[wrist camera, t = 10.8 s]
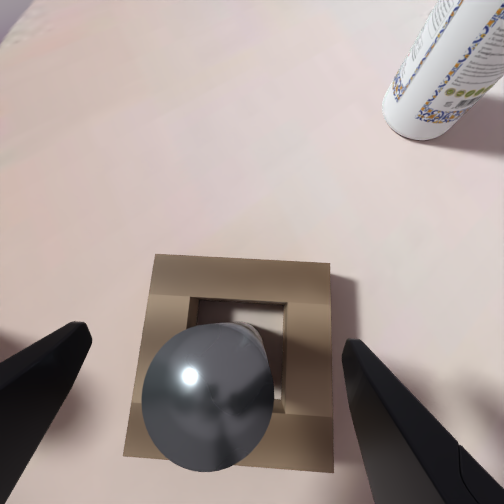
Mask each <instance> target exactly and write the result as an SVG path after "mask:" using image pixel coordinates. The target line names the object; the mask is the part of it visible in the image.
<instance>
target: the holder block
mask: <svg viewBox="0 0 504 504" xmlns="http://www.w3.org/2000/svg"><path fill="white" fill-rule="evenodd" d="M199 300H212V301H229V302H245V303H262V304H279V305H284V314H283V351H282V387H281V400H279V399H274V406H273V412H272V416H271V420H270V423H269V425H268V428H267V430H266V432H265V434H264V436H263V438H262V439H261V441H260V442H259V444H258V445H257V446H256V447H255V448H254V450H253V451H252V452H251V453H250V454H249V455H247V456H246V457H245V458H244V459H242V460H241V461H239V462H238V463H236V464H234V465H238V466H251V467H263V468H275V469H288V470H300V471H313V472H325V473H334V453H333V399H332V344H331V289H330V263H317V262H298V261H279V260H261V259H242V258H223V257H204V256H186V255H167V254H155V259H154V265H153V271H152V277H151V284H150V290H149V296H148V302H147V309H146V315H145V321H144V327H143V333H142V340H141V346H140V352H139V358H138V365H137V371H136V377H135V383H134V390H133V396H132V402H131V408H130V415H129V421H128V427H127V433H126V440H125V446H124V452H123V456H127V457H139V458H151V459H164V460H169V459H168V458H166V457H165V456H164V455H163V454H162V453H161V452H160V451H159V450H158V448H157V447H156V446H155V444H154V443H153V441H152V439H151V438H150V436H149V434H148V431H147V429H146V426H145V423H144V419H143V414H142V401H141V397H142V388H143V383H144V379H145V376H146V373H147V370H148V368H149V366H150V363H151V361H152V360H153V358H154V357H155V355H156V354H157V352H158V351H159V350H160V348H161V347H162V346H163V345H164V344H165V343H166V342H167V341H168V340H170V339H171V338H172V337H173V336H175V335H176V334H178V333H180V332H182V331H184V330H186V329H188V328H191V327H194V326H196V324H197V315H198V306H199Z"/></svg>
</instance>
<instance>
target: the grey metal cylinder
mask: <svg viewBox="0 0 504 504" xmlns="http://www.w3.org/2000/svg"><path fill="white" fill-rule="evenodd" d="M141 401H142V414H143V419H144V423H145V426H146V429H147V431H148V434H149V436H150V438H151V439H152V441H153V443H154V444H155V446H156V447H157V448H158V450H159V451H160V452H161V453H162V454H163V455H164V456H165V457H166V458H168V459H169V460H170V461H172V462H173V463H175V464H177V465H179V466H181V467H183V468H186V469H189V470H192V471H198V472H212V471H219V470H222V469H225V468H228V467H230V466H232V465H234V464H236V463H238V462H239V461H241V460H242V459H244V458H245V457H246V456H247V455H249V454H250V453H251V452H252V451H253V450H254V448H255V447H256V446H257V445H258V444H259V442H260V441H261V439H262V438H263V436H264V434H265V432H266V430H267V428H268V425H269V423H270V420H271V416H272V412H273V406H274V385H273V378H272V375H271V371H270V367H269V363H268V359H267V356H266V352H265V348H264V344H263V341H262V338H261V335H260V334H259V332H258V331H257V330H256V329H255V328H254V327H253V326H252V325H250V324H248V323H245V322H227V323H216V324H205V325H198V326H194V327H191V328H188V329H186V330H184V331H182V332H180V333H178V334H176V335H175V336H173V337H172V338H171V339H170V340H168V341H167V342H166V343H165V344H164V345H163V346H162V347H161V348H160V350H159V351H158V352H157V354H156V355H155V357H154V358H153V360H152V361H151V363H150V366H149V368H148V370H147V373H146V376H145V379H144V383H143V388H142V397H141Z"/></svg>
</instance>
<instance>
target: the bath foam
mask: <svg viewBox="0 0 504 504" xmlns="http://www.w3.org/2000/svg"><path fill="white" fill-rule="evenodd" d="M503 75H504V0H438V2H437V4H436V5H435V7H434V9H433V11H432V12H431V14H430V16H429V18H428V19H427V21H426V23H425V25H424V26H423V28H422V30H421V32H420V34H419V35H418V37H417V39H416V41H415V42H414V44H413V46H412V48H411V49H410V51H409V53H408V55H407V56H406V58H405V60H404V62H403V63H402V65H401V67H400V69H399V71H398V72H397V74H396V76H395V78H394V80H393V82H392V83H391V85H390V87H389V89H388V90H387V92H386V94H385V96H384V99H383V102H382V112H383V116H384V119H385V120H386V122H387V124H388V125H389V126H390V127H391V128H392V129H393V130H394V131H395V132H397V133H398V134H400V135H402V136H404V137H407V138H410V139H415V140H428V139H433V138H436V137H438V136H440V135H442V134H444V133H445V132H446V131H447V130H449V129H450V128H451V127H452V126H453V125H454V124H455V123H456V122H457V121H458V120H459V119H460V118H461V117H462V116H463V115H464V114H465V113H466V112H467V111H468V110H469V109H470V108H471V107H472V106H473V105H474V104H475V103H476V102H477V101H478V100H479V99H480V98H481V97H482V96H483V95H484V94H485V93H486V92H487V91H488V90H489V89H490V88H491V87H492V86H493V85H494V84H495V83H496V82H497V81H498V80H499V79H500V78H501V77H502V76H503Z"/></svg>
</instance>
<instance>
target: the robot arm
mask: <svg viewBox="0 0 504 504" xmlns="http://www.w3.org/2000/svg"><path fill="white" fill-rule="evenodd" d="M91 344H92V336H91V334H90V332H89V329H88V327H87V325H86V323H84V322H76V321H74V322H70V323H68V324H66V325H65V326H63V327H61V328H60V329H58V330H56V331H54V332H53V333H51V334H49V335H48V336H46V337H44V338H42V339H41V340H39V341H37V342H35V343H34V344H32V345H30V346H29V347H27V348H25V349H23V350H22V351H20V352H18V353H17V354H15V355H13V356H11V357H10V358H8V359H6V360H4V361H3V362H1V363H0V504H5V502H6V501H7V499H8V497H9V496H10V494H11V492H12V490H13V489H14V487H15V485H16V483H17V482H18V480H19V478H20V477H21V475H22V473H23V471H24V470H25V468H26V466H27V464H28V463H29V461H30V459H31V457H32V456H33V454H34V452H35V451H36V449H37V447H38V445H39V444H40V442H41V440H42V438H43V437H44V435H45V433H46V431H47V430H48V428H49V426H50V425H51V423H52V421H53V419H54V418H55V416H56V414H57V412H58V411H59V409H60V407H61V405H62V404H63V402H64V400H65V399H66V397H67V395H68V393H69V391H70V390H71V388H72V386H73V384H74V382H75V380H76V377H77V375H78V373H79V371H80V369H81V366H82V364H83V362H84V360H85V358H86V356H87V353H88V351H89V349H90V347H91ZM342 365H343V371H344V378H345V384H346V390H347V397H348V403H349V408H350V412H351V416H352V420H353V424H354V428H355V431H356V435H357V439H358V443H359V446H360V450H361V454H362V458H363V461H364V465H365V469H366V472H367V476H368V480H369V484H370V487H371V491H372V495H373V499H374V502H375V504H504V488H503V487H502V486H500V485H499V484H498V483H497V482H496V481H495V480H494V479H493V477H492V476H491V475H490V474H489V473H488V472H487V471H486V470H485V469H484V468H483V467H482V466H481V465H480V464H479V463H478V462H477V461H476V460H475V459H474V458H473V457H472V456H471V455H470V454H469V453H468V452H467V451H466V450H465V449H464V448H463V447H462V446H461V445H459V444H458V441H457V440H456V439H455V438H454V437H453V436H452V435H451V434H450V433H449V432H448V431H447V430H446V429H445V428H444V427H443V426H442V425H441V424H440V422H439V421H438V420H437V419H436V418H435V417H434V416H433V415H432V414H431V413H430V412H429V411H428V410H427V409H426V408H425V407H424V406H423V405H422V404H421V402H420V401H419V400H418V399H417V398H416V397H415V396H414V395H413V394H412V393H411V392H410V391H409V390H408V389H407V388H406V387H405V386H404V385H403V384H402V383H401V381H400V380H399V379H398V378H397V377H396V376H395V375H394V374H393V373H392V372H391V371H390V370H389V369H388V368H387V367H386V366H385V365H384V364H383V363H382V361H381V360H380V359H379V358H378V357H377V356H376V355H375V354H374V353H373V352H372V351H371V350H370V349H369V348H368V347H367V346H366V345H365V344H364V343H363V342H362V341H361V340H360V339H351V338H349V339H347V340H346V343H345V346H344V350H343V353H342Z"/></svg>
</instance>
